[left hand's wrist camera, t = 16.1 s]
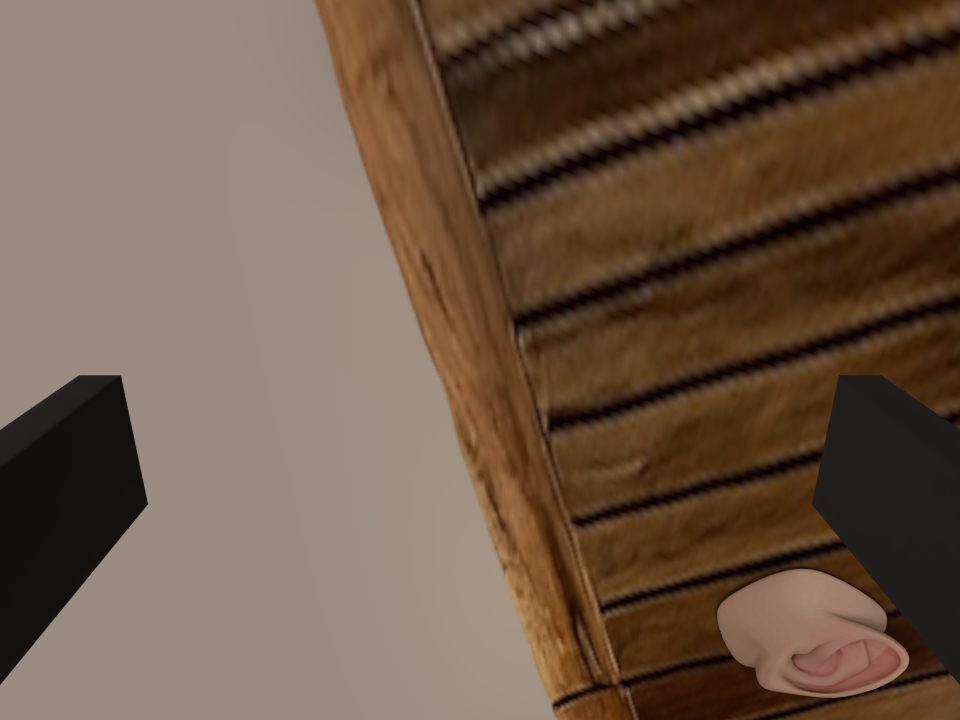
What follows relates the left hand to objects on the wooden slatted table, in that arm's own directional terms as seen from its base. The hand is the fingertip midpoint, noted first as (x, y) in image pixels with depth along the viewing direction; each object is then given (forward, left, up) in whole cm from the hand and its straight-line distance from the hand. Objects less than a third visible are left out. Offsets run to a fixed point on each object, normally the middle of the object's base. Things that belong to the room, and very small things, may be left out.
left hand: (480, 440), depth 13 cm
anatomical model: (-11, +42, -33) cm, 55 cm away
